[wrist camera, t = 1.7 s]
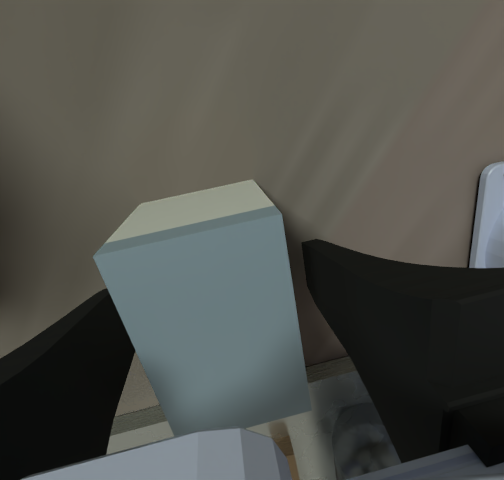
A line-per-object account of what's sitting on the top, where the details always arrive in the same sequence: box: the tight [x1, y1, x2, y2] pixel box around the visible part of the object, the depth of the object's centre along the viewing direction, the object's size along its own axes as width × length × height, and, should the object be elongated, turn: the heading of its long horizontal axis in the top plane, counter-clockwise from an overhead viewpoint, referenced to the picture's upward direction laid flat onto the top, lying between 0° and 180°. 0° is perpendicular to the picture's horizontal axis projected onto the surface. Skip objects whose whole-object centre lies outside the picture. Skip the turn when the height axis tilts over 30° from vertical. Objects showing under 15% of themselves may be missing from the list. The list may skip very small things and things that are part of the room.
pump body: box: [93, 180, 312, 436], centre depth 10 cm, size 4×7×5 cm, turn 11°
